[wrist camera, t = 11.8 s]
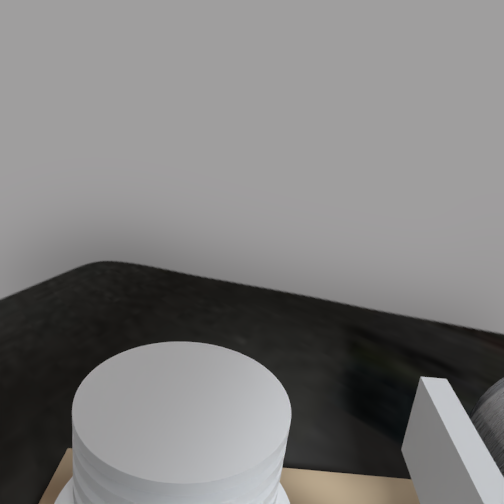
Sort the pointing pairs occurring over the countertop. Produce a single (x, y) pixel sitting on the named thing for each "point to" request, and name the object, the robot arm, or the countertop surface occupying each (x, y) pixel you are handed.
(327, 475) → the mounting board
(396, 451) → the countertop surface
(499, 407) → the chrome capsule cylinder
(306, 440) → the countertop surface
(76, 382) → the countertop surface
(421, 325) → the countertop surface
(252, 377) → the downlight
